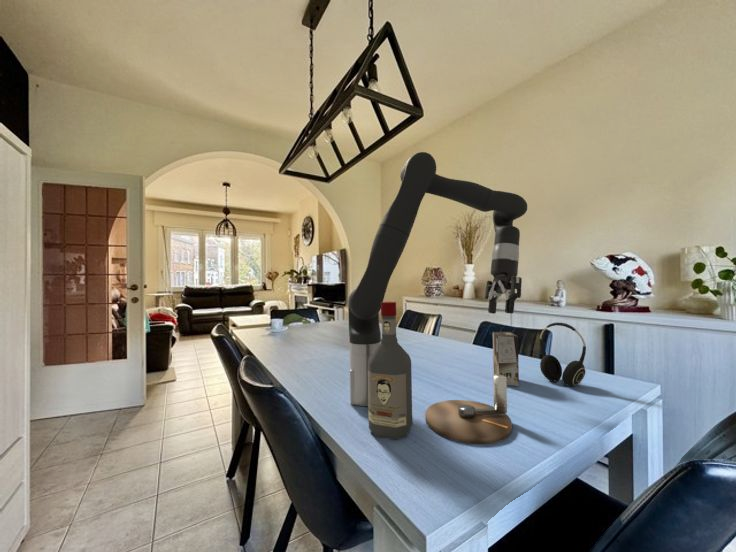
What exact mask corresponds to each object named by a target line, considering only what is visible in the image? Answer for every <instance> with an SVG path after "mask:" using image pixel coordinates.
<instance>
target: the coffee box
mask: <svg viewBox="0 0 736 552" xmlns="http://www.w3.org/2000/svg"><path fill="white" fill-rule="evenodd" d="M492 353H493V355H492V356H493V357H492V358H493V375H495V374H501V375H505V376H506V382H507V386H511V387H512V386H515V387H518V386H520V383H519V381H520V378H519V376H520V374H519V370H520V368H519V336H518V335H517V334H515V333H513V332H511V331H492Z"/></svg>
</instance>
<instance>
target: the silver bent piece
mask: <svg viewBox="0 0 736 552" xmlns="http://www.w3.org/2000/svg"><path fill="white" fill-rule="evenodd" d="M492 378H493V379H492V380H493V385H492V386H493V387H492V388H493V407H494V408H485V409H475V407H473V406H471V405H459V406H458V414H459V415H460V416H461V417H464V418H473V417H475V415H491V414H507V413H508V394H507V393H508V389H507V387H508V385H507V382H506V376H505V375H501V374H495V375H494V374H493V375H492Z"/></svg>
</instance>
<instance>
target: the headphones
mask: <svg viewBox="0 0 736 552" xmlns="http://www.w3.org/2000/svg"><path fill="white" fill-rule="evenodd" d="M555 326H561V327H565V328H568V329H570V330H572V331H573V332H575V333H576V334H577V335H578V336H579V338H580V339H581V340H580V341H581V342H582V345H583V346H582V350H581V351H582V352H581V354H580V358H579V360H572V361H571V362H569V363H567V365H566V366H565V368H564V370H563V367H562V364H561V363H560V361H559V359H558V358H557V357H555V355H551V354H547V353H546V349H545V346H544V342H543V338H542V336H543V334H544V333H545V331H546V330H547V329H548V328H551V327H555ZM538 341H539V346H540V352H541V355H542V358H541V360H540V363H539V368H540V371H541V374H542V375H543V376H544V378H545V379H547V380H548V381H550V382H558V381H559V380H562V382H563V384H564V385H566V386H567V387H574V386H578V385H580V383H582V381H583V380H584V378H585V376H586V367H585V365H584V361H585V357H586V354H587V353H586V350H587V345H586V342H585V340H584V338H583V337H582V335H581V334H580V333H579V332H578V330H577V329H576V328H575V327H573V326H572V325H570V324H568V323H565V322H553V323H549V324H548V325H547V326H546V327H545V328H543V330H542V331H541V333H540V336H539V340H538Z"/></svg>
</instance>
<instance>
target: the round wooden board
mask: <svg viewBox="0 0 736 552" xmlns="http://www.w3.org/2000/svg"><path fill="white" fill-rule="evenodd" d="M459 405H471V406H473V407H475V409H485V408H494V405H493V406H492V405H489V404H486V403H483V402H479V401H473V400H465V399H451V400H442V401H438V402H435V403H433V404H431V405H430V406H428V407H427V408H426V410H425V416H424V417H425V423H426V424H425V425H427V427H428V428H429V429H430V430H431V431H433V432H434V433H436V434H437V435H440V436H441V437H442V438H446V439H448V440H452V441H455V442H460V443H464V444H473V445H475V444H476V445H486V444H494V443H499V442H501V441H504V440H506V439H507V438H509V436H511V434H512V432H513V431H512V430H513V429H512V425H513V424H512V420H511V417H510V416H509V415H508V414H507V413H505V414H491V415H475V417H473V418H464V417H461V416H460V415H459V414H458V406H459Z"/></svg>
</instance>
